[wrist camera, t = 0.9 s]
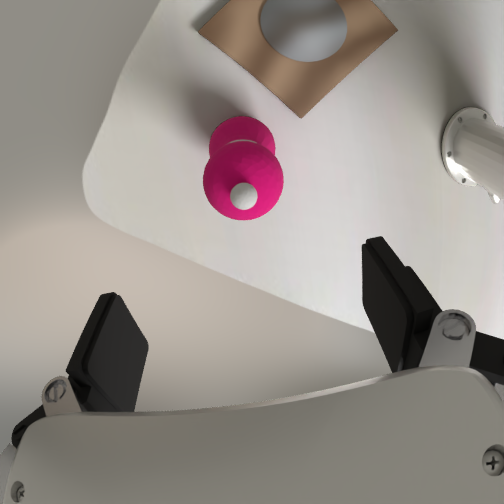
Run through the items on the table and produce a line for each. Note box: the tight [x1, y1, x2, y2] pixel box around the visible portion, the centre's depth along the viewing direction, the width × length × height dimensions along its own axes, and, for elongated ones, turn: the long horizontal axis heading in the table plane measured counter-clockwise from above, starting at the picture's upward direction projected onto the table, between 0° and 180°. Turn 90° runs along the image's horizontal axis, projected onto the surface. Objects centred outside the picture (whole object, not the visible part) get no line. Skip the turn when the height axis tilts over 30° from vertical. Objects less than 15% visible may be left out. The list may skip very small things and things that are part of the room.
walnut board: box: [198, 0, 398, 119], centre depth 28 cm, size 16×18×2 cm
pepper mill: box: [203, 116, 284, 220], centre depth 28 cm, size 7×7×20 cm
